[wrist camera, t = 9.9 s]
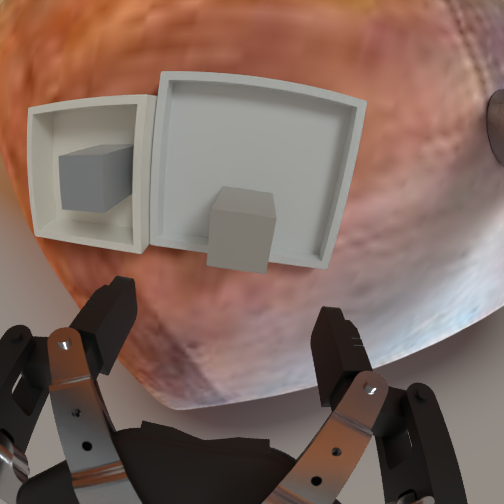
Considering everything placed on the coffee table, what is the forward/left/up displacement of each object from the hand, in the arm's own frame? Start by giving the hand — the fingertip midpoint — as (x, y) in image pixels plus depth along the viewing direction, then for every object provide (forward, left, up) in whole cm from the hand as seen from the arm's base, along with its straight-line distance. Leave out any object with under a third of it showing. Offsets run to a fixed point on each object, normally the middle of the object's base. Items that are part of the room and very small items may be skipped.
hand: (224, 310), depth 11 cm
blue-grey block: (+11, -3, -13) cm, 17 cm away
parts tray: (0, -4, -14) cm, 14 cm away
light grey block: (0, 0, -13) cm, 13 cm away
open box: (+14, -3, -14) cm, 19 cm away
